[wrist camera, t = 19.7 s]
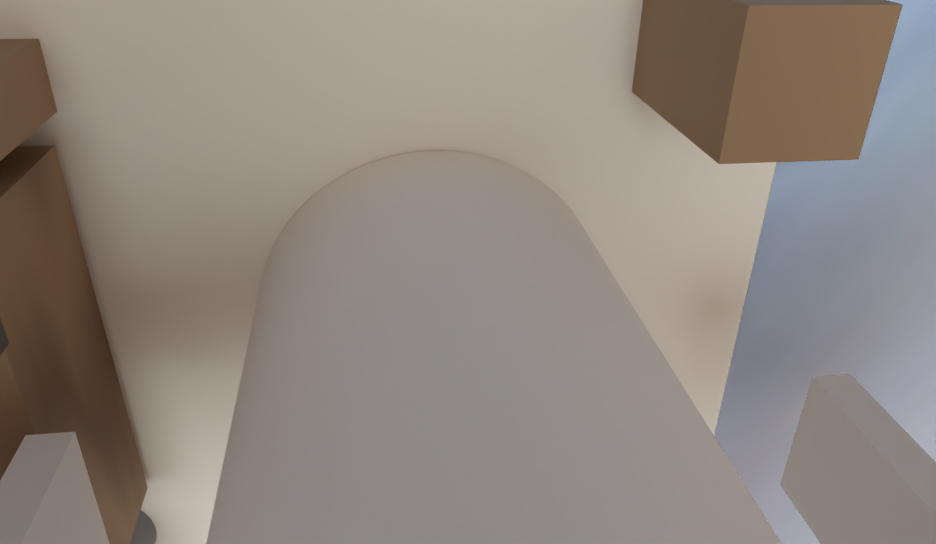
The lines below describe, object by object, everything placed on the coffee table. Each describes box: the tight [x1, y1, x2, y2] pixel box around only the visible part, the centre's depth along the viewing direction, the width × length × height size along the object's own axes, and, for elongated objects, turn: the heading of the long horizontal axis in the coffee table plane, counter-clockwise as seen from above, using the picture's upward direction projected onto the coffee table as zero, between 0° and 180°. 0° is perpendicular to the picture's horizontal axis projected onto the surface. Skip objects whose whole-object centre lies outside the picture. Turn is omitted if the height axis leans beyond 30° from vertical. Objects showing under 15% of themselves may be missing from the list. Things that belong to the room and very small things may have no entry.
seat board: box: [0, 0, 902, 544], centre depth 16 cm, size 17×20×6 cm
